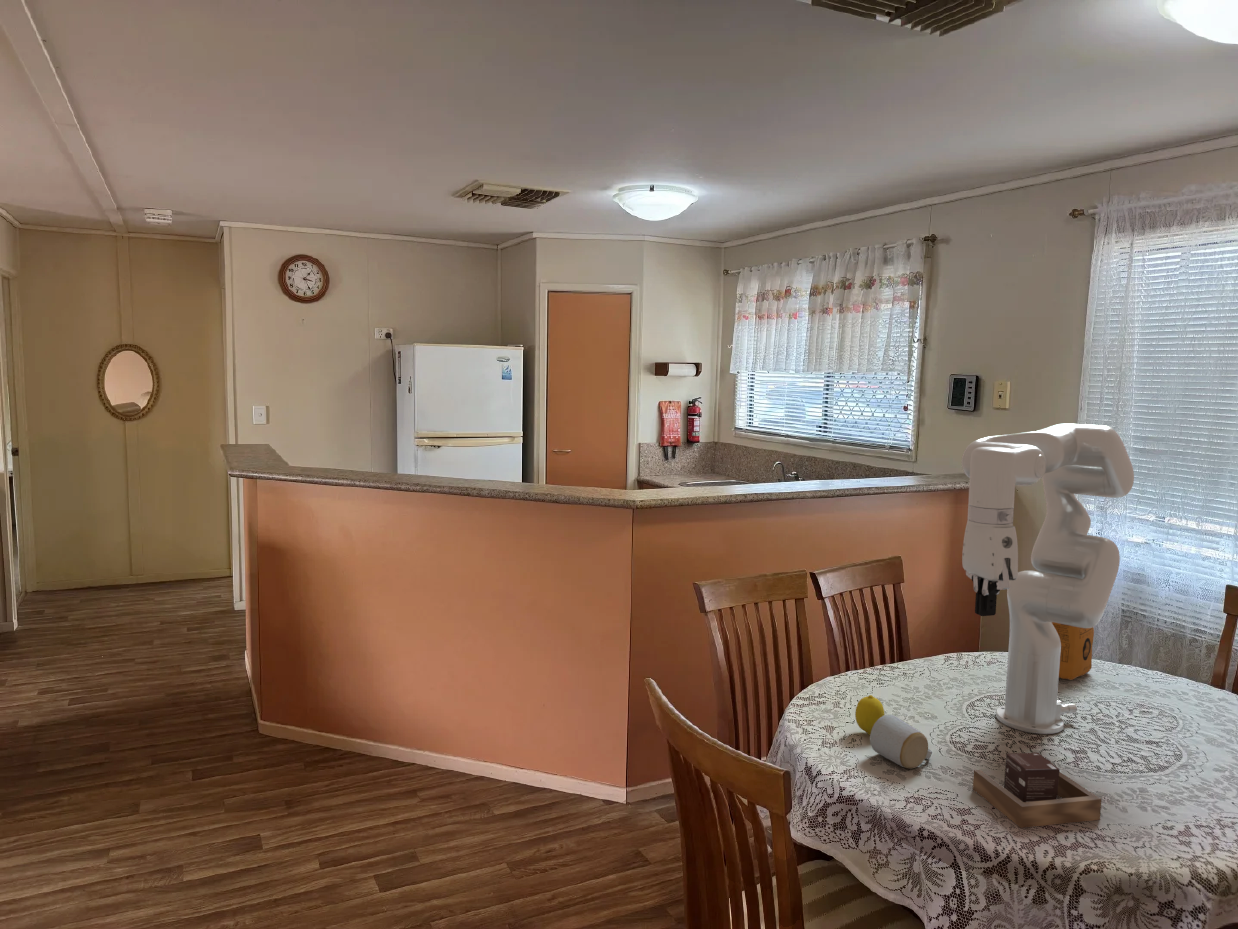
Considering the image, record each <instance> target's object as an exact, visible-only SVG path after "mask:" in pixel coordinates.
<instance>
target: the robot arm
mask: <svg viewBox="0 0 1238 929" xmlns="http://www.w3.org/2000/svg"><path fill="white" fill-rule="evenodd" d="M961 470H962V471H963V473H964V474H965V476H966V477H967V478H969V481H968V482H969V483H968V484H969V486H968V504H967V507H968V508H967V522H966V525H965V530H964V535H963V544H962V552H961V553H962V556H961V559H962V560H961V562H962V563H961V564H962V568H963V569H964V571H965V575H966V577H967V578H969V579H970V580H971V581H972V583H973V591H974V592H975V602H974V603H975V604H974V613H975V614H976V615H979V616H980V617H987V616H989V617H990V616H991V617H992V616H996V614H997V599H998V598H997V597H998V596H997V595H1000V591H1002V590H1007V591H1006V596H1007V604H1008V613H1009V615H1008V616H1009V637H1008V638H1009V639H1008V653H1007V668H1006V680H1005V681H1006V683H1005V684H1006V685H1005V698H1004V705H1002V706H1000V707H998V708H997V709H996V712H995V717H996V719H997V720H998V721H1000V723H1002V724H1003V725H1005V726H1006V727H1010V728H1012V729H1014V730H1019V731H1022V732H1025V733H1031V734H1036V735H1037V734H1039V735H1051V734H1056V733H1060V732H1062V731H1064V728H1065V727H1064V726H1065V721H1064V720H1063V719H1062V717H1061V716H1064V714H1076V713H1077V711H1078V708H1077V704H1075V703H1064V704H1063V701H1061V700H1058V692H1059V691H1058V690H1059V679H1060V678H1059V667H1060V653H1061V642H1060V638H1059V635H1058V633H1057V631H1056V629H1055V627H1054V626H1053V624H1052V622H1055V623H1060V624H1064V625H1069V626H1074V627H1079V628H1092V627H1093V628H1094V627H1096V626H1097V625H1098V624H1099V622H1100V621H1101V620H1102V618H1103V615H1104V613H1105V610H1106V607H1107V604H1108V601H1109V598H1110V595H1111V593H1112V590H1113V587H1114V584H1115V581H1116V579H1117V576H1118V574H1119V569H1120V568H1119V567H1120V560H1121V557H1120V556H1121V555H1120V551H1119V550H1120V549H1119V547H1118V546H1117V544H1116V543H1115V542H1114V541H1113V540H1111V539H1109V538H1107V537H1103V536H1097V535H1092V534H1091V535H1089V534H1088V533H1089V531H1090V527H1091V526H1092V524H1091V523H1092V521H1091V520H1092V519H1091V517H1090V515H1089V513H1088V511H1087V509H1085V507H1084V506H1083V504H1082V503H1081V502H1080V501H1079V500H1078V499H1077V497H1076V496H1075V495H1081V496H1092V497H1102V498H1109V499H1110V498H1112V499H1116V498H1117V499H1119V498H1123V497H1125V496H1127V495H1128V494H1129V493H1130V492H1131V491H1132V488H1133V485H1134V482H1135V473H1134V467H1133V464H1132V460H1131V459H1130V456H1129V454H1128V451H1127V449H1126V447H1125V443H1124V442H1123V440H1122V438H1121V437H1120V435H1119V434H1118V432H1117V431H1116V430H1115V429H1114V428H1112V427H1110V426H1108V425H1103V424H1099V425H1098V424H1084V423H1083V424H1079V423H1058V424H1054V425H1053V424H1052V425H1050V426H1048V427H1044V428H1040V429H1038V430H1036V431H1035V430H1033V431H1025V432H1017V433H1011V434H1009V433H1008V434H1002V435H1001V434H999V435H991V436H985V437H982V438H979V439H976V440H974V441H971V443H969V444H968V445H967V446H966V448H965V450H963V454H962V457H961ZM1041 479H1042V487H1043V493H1044V500H1045V504H1046V515H1045V518H1044V521H1043V523H1042V526H1041V527H1040V529H1039V533H1038V535H1037V537H1036V540H1035V542H1034V544H1033V547H1032V551H1031V555H1030V562H1031V565H1032V567H1033V568H1034V569H1035V570H1022V571H1019V546H1018V535H1017V530H1016V526H1015V525H1014V514H1015V513H1014V511H1015V496H1016V491H1015V490H1016V486H1032V485H1034V484H1036V483H1038V482H1039V481H1040V480H1041Z"/></svg>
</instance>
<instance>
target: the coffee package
mask: <svg viewBox="0 0 1238 929" xmlns="http://www.w3.org/2000/svg"><path fill="white" fill-rule="evenodd" d="M1052 624H1053V626H1054V627H1055V629H1056V631H1057V633H1058V635H1059V638H1060V642H1061V653H1060V667H1059V679H1062V680H1070V681H1072V680H1075V679H1076V678H1079V677H1081V676H1084V675H1086V674H1088V673H1089V672H1090V671H1091V670H1092V668H1093V666H1092V665H1093V664H1092V662H1093V644H1094V635H1095V629H1094V627H1092V628H1079V627H1074V626H1069V625H1064V624H1060V623H1055V622H1052Z"/></svg>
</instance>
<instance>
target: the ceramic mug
mask: <svg viewBox="0 0 1238 929" xmlns="http://www.w3.org/2000/svg"><path fill="white" fill-rule="evenodd" d="M928 741H929V740H928V738H927V736H925V734H923V732H921V731H920V730H919V729H917V728H916V727H915V726H913V725H910V724H909V723H907V722H906V721H904V720H903V719H900V718H899V717H897V716H896V715H894V714H890V713H889V714H884V716H882V717H880V718H879V719H878V720H877V721H876V723H875V724H874V726H873V728H872V730H871V734H870V736H869V743H870V746H871V749H872V750H873V751H874V752H875V753H877V754H878V755H879V756H880V755H881V756H882V757H883V758H885V759H887V760H890V761H891V762H893V763H894V764H896V765H898V766H900V767H902V768H905V769H909V770H910V769H916V768H917V767H919V766H920V765H922V763H924V761H925V759H926V760H931V757H932V754H933V751H932V750H931V749H930V748H929V742H928Z"/></svg>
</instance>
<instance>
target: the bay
mask: <svg viewBox="0 0 1238 929" xmlns="http://www.w3.org/2000/svg"><path fill="white" fill-rule="evenodd" d="M972 791H974V792H975V793H976V792H977V793H976V794H978V796H980V797H981V798H982V799H984V800H985V801H986V802H988V803H989V804H990V805H991V806H993V807H994V808H995V809H996V810H997V811H999V812H1000V813H1001V814H1002V815H1004V816H1005V817H1006V816H1007V817H1006V818H1007V819H1009V820H1010V821H1011V820H1012V821H1011V822H1012V823H1014V824H1015V825H1016V826H1018V827H1019V828H1020V829H1024V828H1033V827H1042V826H1050V825H1051V826H1055V825H1064V824H1070V823H1071V824H1073V823H1081V822H1090V821H1091V822H1092V821H1100V820H1101V811H1102V810H1101V809H1102V798H1101V797H1099V796H1098V795H1096V794H1095V793H1094V792H1091V791H1090V790H1088V789H1087V788H1085V787H1084V786H1082V785H1081V784H1079V783H1078V782H1076V781H1075V780H1073V779H1071V778H1070V777H1068V776H1067V775H1065V774H1064V773H1062V772H1061V771H1060V772H1059V782H1058V793H1057V797H1059V798H1057V799H1054V800H1043V801H1033V802H1023V801H1021V800H1020V799H1019V798H1017V797H1016V796H1015V795H1013V794H1012V793H1011V792H1009V791H1008V790H1007V789H1005V788H1004V785H1001V784H1000V783H999V782H997V781H996V780H994V779H993V778H992V777H991V776H989V775H988V774H986V772H984V771H983V770H981V769H975V770H973V780H972Z"/></svg>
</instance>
